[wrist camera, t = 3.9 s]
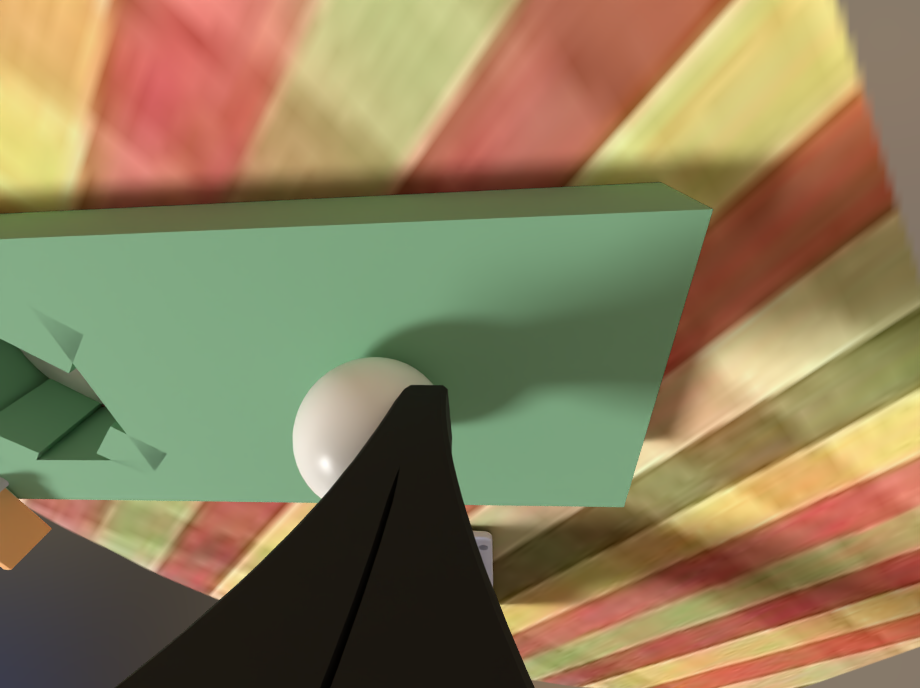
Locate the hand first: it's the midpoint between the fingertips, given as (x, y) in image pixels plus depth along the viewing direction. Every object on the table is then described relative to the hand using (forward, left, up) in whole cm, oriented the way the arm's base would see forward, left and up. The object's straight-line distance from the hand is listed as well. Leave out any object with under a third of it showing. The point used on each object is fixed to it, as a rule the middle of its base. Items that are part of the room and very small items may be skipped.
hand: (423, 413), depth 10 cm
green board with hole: (-2, +6, -5) cm, 8 cm away
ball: (-1, +1, 0) cm, 2 cm away
